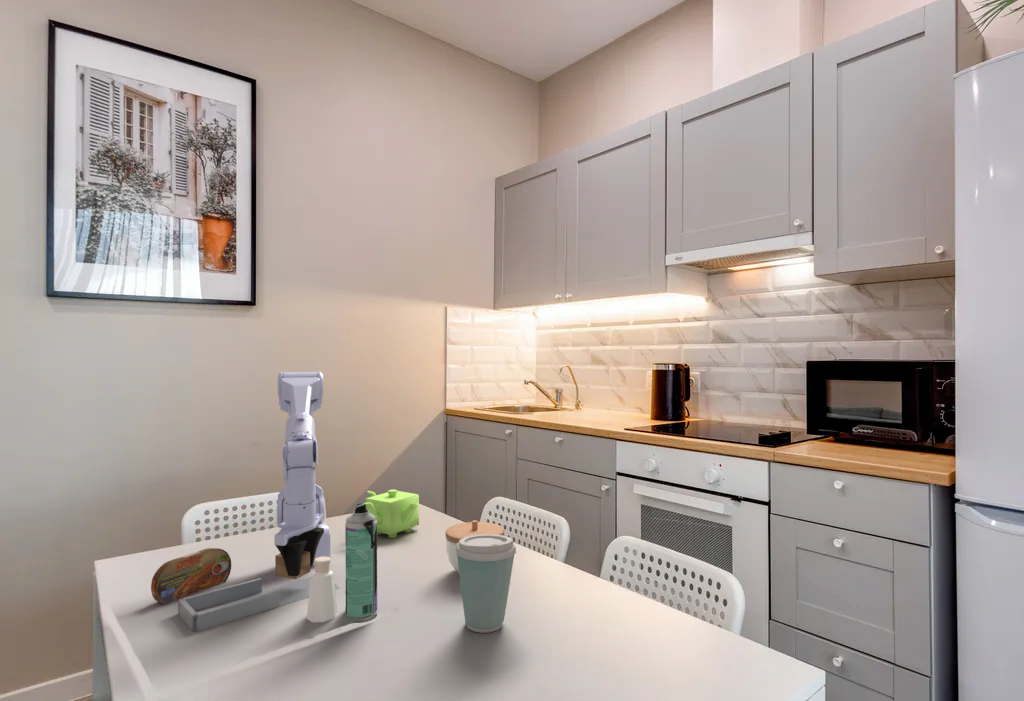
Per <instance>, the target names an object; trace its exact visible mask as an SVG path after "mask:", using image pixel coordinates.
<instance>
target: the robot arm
mask: <svg viewBox="0 0 1024 701" xmlns="http://www.w3.org/2000/svg"><path fill="white" fill-rule="evenodd" d="M323 395H324V373H323V372H321V370H318V371H280V372H279V373H278V375H277V396H278V405H279V407H280V410H281V411H282V412H286V413H287V414H288V416H289V417H288V418H287V420H286V421H285V434H284V436H285V438H284V443H283V444H282V447H281V448H282V449H281V450H282V451H281V463H282V469H283V481H284V487H283V488H282V489H280V491H279V493H277V494H278V495H277V502H276V503H277V504H276V525H277V527H278V528H279V531H278V532H277V533H276V534H274V546H275V547H276V548H277V551H279V554H280V553H281V555H282V557H283V560H284V563H285V566H286V570H287V574H288V576H299V575H300V571H301V561H302V554H303V551H309V552H310V568H312V567H314V565H315V564H314V560H315V559H316V558H318V557H324V556H325V557H329V558H330V559H331V533H330V528H329V527H328V525H327V524H326V523H325V497H324V490H323V488H322V487H321V486H320V485H318V484H317V483H316V471H317V470H316V469H317V468H318V462H319V448H318V447H319V445H318V441H317V436H316V424H315V418H314V417H313V415H314V412H316V411H318V410H320V409H321V408H322V405H323ZM313 463H314V464H315V467H314V464H313Z"/></svg>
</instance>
